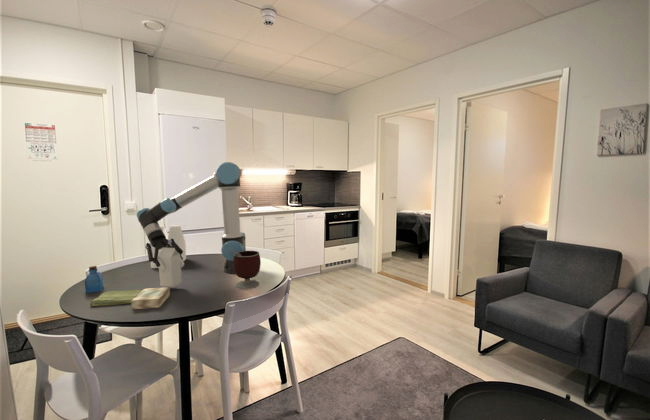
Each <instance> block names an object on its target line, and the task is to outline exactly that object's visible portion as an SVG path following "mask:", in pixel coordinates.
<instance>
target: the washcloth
mask: <svg viewBox="0 0 650 420" xmlns="http://www.w3.org/2000/svg"><path fill="white" fill-rule="evenodd" d="M141 291H142V290H140V289H138V290H137V289H131V290H130V289H128V290H113V291H112V290H111V291H105V292H103V293H101V294H100V295H99V296H98V297H95V298H94V299H92V300H91V301H90V303H89V305H90V306H91V307H105V306H106V307H107V306H115V305H117V306H118V305H129V304H131V305H132V302H131V300H132V299H134V298H135V297H136V296H137V295H138V294H139V293H140V292H141Z"/></svg>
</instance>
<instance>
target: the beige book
mask: <svg viewBox="0 0 650 420" xmlns="http://www.w3.org/2000/svg"><path fill="white" fill-rule="evenodd" d="M170 295H171V292H170V287H166V286H163V287H149V288H143V290H141V292H140V293H139V294H138V295H137V296H136V297H135V298H134V299H132V300H131V302H132V303H131V309H132V310H142V309H155V308H156V309H157V308H160V307H161V306H162V305H163V304H164V303H165V301H166V300H167V299H168V298H169V297H170Z"/></svg>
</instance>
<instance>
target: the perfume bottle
mask: <svg viewBox="0 0 650 420" xmlns="http://www.w3.org/2000/svg"><path fill="white" fill-rule="evenodd" d="M103 279H104V278H103V274H102V273H101V272H100V271H98V268H97V265H93V266H92V265H91V266H89V267H88V274H87V276H86V278H85V279H84V288H85V294H89V293H97V292H102V291H103V288H104V280H103Z"/></svg>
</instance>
